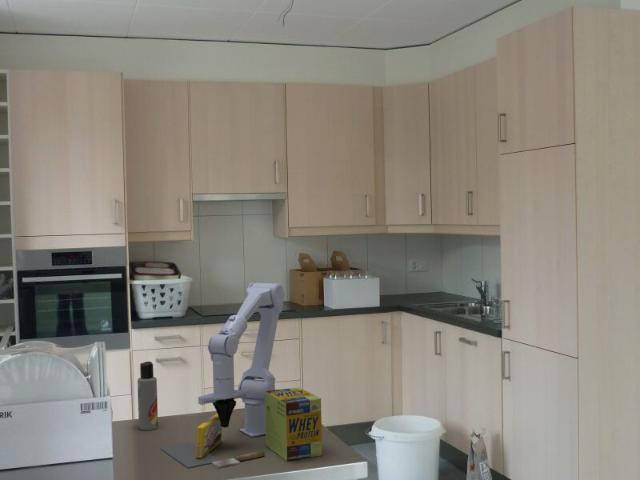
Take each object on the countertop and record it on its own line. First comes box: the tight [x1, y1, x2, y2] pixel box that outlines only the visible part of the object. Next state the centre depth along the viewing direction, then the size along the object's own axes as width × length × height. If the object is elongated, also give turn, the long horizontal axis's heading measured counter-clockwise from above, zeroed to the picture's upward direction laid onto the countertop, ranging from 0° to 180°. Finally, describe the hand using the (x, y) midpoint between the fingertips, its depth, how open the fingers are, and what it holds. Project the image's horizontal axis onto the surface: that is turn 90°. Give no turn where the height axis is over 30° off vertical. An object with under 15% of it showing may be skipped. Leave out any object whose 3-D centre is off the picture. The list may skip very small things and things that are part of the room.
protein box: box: [265, 387, 323, 462], centre depth 215 cm, size 10×15×16 cm
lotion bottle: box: [137, 361, 159, 431], centre depth 239 cm, size 6×6×20 cm
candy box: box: [195, 412, 223, 458], centre depth 216 cm, size 16×2×8 cm, turn 168°
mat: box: [159, 441, 220, 469], centre depth 213 cm, size 9×20×1 cm, turn 32°
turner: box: [212, 450, 265, 469], centre depth 207 cm, size 14×4×1 cm, turn 122°
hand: (224, 426), depth 218 cm, fingers closed
